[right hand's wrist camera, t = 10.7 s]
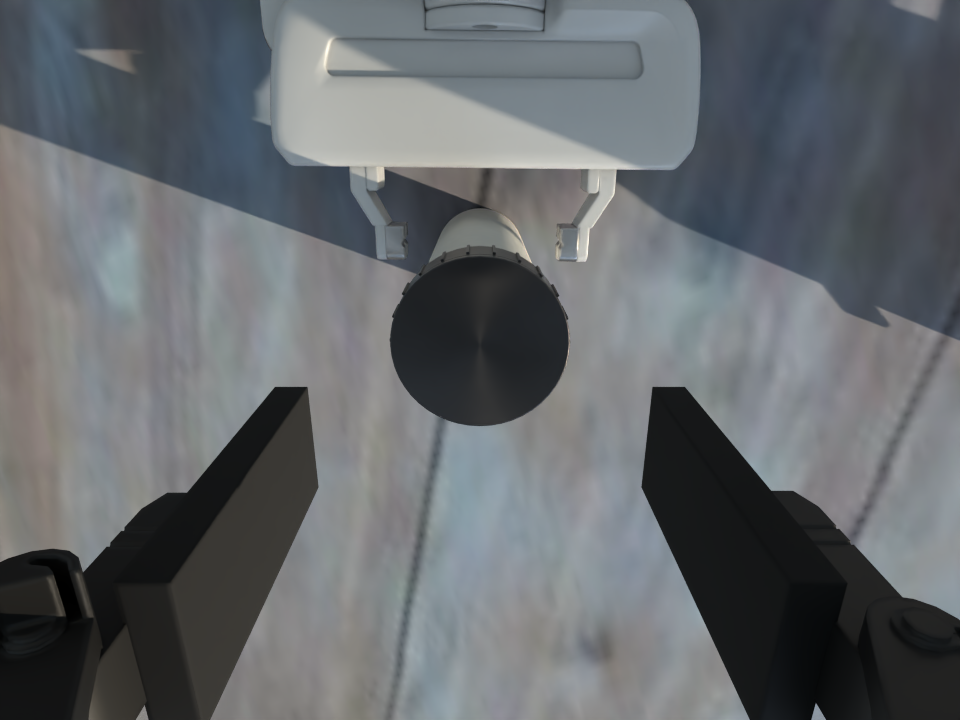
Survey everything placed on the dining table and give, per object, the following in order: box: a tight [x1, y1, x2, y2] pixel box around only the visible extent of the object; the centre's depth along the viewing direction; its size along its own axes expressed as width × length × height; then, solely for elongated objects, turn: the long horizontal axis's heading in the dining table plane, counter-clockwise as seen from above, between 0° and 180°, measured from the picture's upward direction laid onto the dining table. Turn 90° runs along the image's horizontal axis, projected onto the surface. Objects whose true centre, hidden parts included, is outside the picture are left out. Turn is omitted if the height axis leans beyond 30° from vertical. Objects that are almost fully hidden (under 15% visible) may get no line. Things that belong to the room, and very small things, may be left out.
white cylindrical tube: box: [429, 208, 531, 263], centre depth 30 cm, size 6×6×18 cm
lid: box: [390, 245, 570, 426], centre depth 22 cm, size 6×6×2 cm
